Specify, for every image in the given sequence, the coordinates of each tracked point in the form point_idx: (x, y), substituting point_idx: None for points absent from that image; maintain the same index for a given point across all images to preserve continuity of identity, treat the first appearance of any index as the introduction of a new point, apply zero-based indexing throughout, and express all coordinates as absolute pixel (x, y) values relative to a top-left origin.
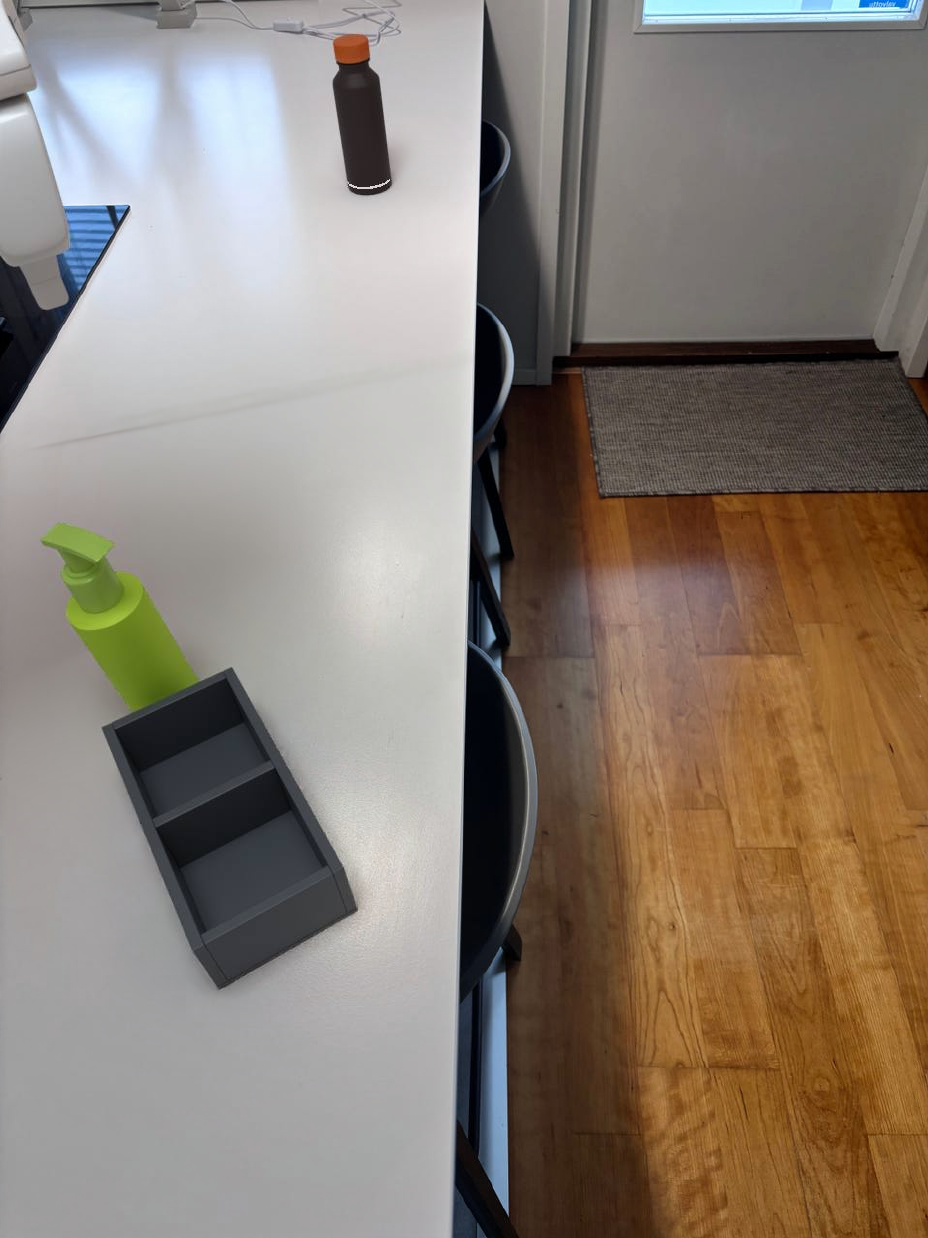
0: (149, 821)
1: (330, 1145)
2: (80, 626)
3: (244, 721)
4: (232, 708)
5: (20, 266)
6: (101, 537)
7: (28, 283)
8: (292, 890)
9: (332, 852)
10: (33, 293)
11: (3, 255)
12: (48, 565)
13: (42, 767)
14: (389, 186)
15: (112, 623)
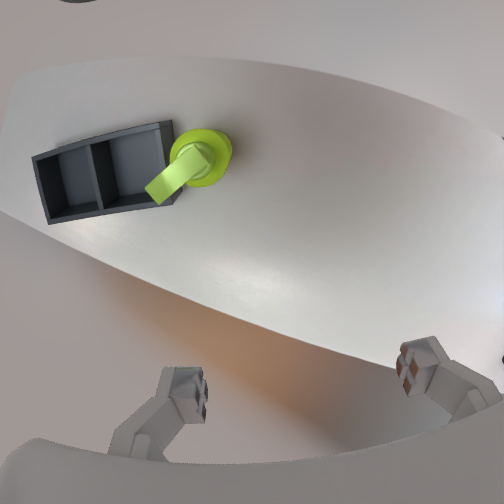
0: (89, 143)
1: (8, 179)
2: (180, 137)
3: None
4: None
5: (116, 428)
6: (166, 197)
7: (176, 391)
8: (43, 202)
9: (54, 222)
10: (158, 384)
11: (14, 450)
12: (371, 108)
13: (199, 73)
14: (502, 361)
15: (170, 160)
